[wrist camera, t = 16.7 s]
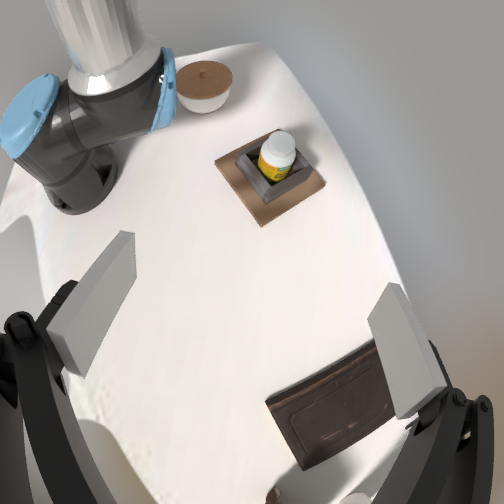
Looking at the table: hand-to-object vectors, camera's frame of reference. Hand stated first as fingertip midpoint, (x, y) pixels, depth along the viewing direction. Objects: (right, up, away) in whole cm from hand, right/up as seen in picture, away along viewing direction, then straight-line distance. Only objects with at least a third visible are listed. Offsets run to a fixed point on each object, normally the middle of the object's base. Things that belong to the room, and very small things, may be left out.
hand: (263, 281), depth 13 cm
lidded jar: (-10, +31, +36) cm, 49 cm away
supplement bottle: (+3, +15, +33) cm, 36 cm away
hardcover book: (+15, -25, +28) cm, 40 cm away
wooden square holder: (+3, +15, +34) cm, 37 cm away
